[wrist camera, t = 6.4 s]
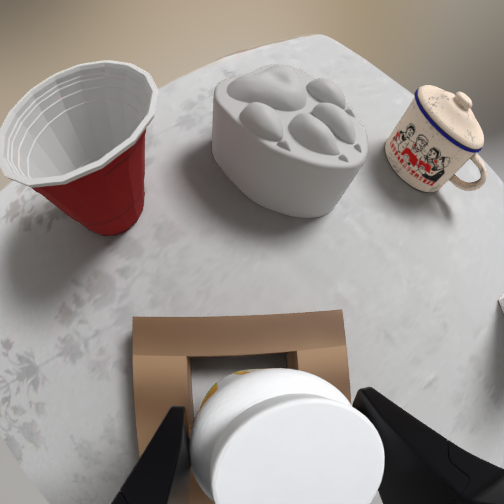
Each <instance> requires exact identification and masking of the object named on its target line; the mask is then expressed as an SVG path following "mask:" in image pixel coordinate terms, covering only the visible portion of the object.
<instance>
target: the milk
mask: <svg viewBox="0 0 504 504" xmlns="http://www.w3.org/2000/svg"><path fill="white" fill-rule="evenodd" d="M498 301H499V303H500V306H501V308H502V310H503V313H504V293H503V294H502V296H501V297H500V298H499V300H498Z"/></svg>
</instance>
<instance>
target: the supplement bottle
mask: <svg viewBox="0 0 504 504" xmlns="http://www.w3.org/2000/svg"><path fill="white" fill-rule="evenodd" d="M189 455H190V464H191V468H192V472H193V474H194V476H195V478H196V480H197V482H198V484H199V486H200V487H201V489H202V490H203V491H204V493H205V494H206V495H207V496H208V497H209V498H210V499H211V500H212V501H213V502H214V503H215V504H370V502H371V501H372V499H373V498H374V496H375V494H376V492H377V490H378V488H379V486H380V483H381V480H382V476H383V472H384V458H385V456H384V448H383V444H382V441H381V438H380V436H379V434H378V431H377V430H376V428H375V427H374V425H373V424H372V423H371V422H370V421H369V419H368V418H367V417H366V416H365V415H363V414H362V413H361V412H359V411H358V410H357V409H355V408H353V407H352V405H351V404H350V402H349V401H348V399H347V398H346V397H345V396H344V395H343V394H342V393H341V392H340V391H339V390H338V389H337V388H336V387H334V386H333V385H332V384H330V383H329V382H327V381H325V380H324V379H322V378H320V377H318V376H316V375H313V374H310V373H307V372H303V371H299V370H294V369H285V368H268V369H248V370H242V371H238V372H235V373H232V374H230V375H228V376H226V377H224V378H222V379H221V380H220V381H218V382H217V383H216V384H215V385H214V386H213V387H212V388H211V389H210V390H209V391H208V393H207V394H206V396H205V398H204V400H203V402H202V404H201V407H200V410H199V412H198V414H197V416H196V418H195V420H194V422H193V426H192V430H191V435H190V441H189Z"/></svg>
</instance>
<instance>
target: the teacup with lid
mask: <svg viewBox="0 0 504 504" xmlns="http://www.w3.org/2000/svg"><path fill="white" fill-rule="evenodd" d="M471 107H472V101H471V100H470V98H468V96H466V95H465V94H464V93H462V92H457V93H456V95H454V94H452V93H450V92H446V91H444V90H442V89H440V88H438V87H435V86H430V85H425V86H422V87H420V88H419V89H417V90H416V92H415V98H414V99H413V101H412V102H411V104H410V106H409V107H408V109H407V110H406V112H405V113H404V115H403V116H402V118H401V120H400V121H399V123H398V124H397V126H396V127H395V129H394V130H393V132H392V133H391V135H390V136H389V138H388V139H387V141H386V145H385V151H386V155H387V158H388V161H389V163H390V164H391V166H392V168H393V169H394V170H395V172H396V173H397V174H398V175H399V176H400V177H401V178H402V179H403V180H404V181H405V182H406V183H408V184H409V185H411V186H412V187H414V188H416V189H418V190H421V191H424V192H434V191H437V190H438V189H440V188H441V187H442V186H443V185H444V184H445V183H446V182H447V181H448V180H450V181H451V182H452V183H453V184H454V185H455V186H456V187H458V188H459V189H462V190H465V191H473V190H476V189H479V188H480V187H481V186H482V185H483V184H484V183H485V181H486V178H487V169H486V166H485V164H484V162H483V161H482V160H481V159H480V157H479V156H478V155H477V154H476V153H477V152H479V151H480V150H481V149H482V146H483V143H484V136H483V132H482V130H481V127H480V125H479V124H478V122H477V120H476V119H475V117H474V114H473V112H472V111H471V109H470V108H471ZM469 159H471V160H472V161H473V162H474V163H475V164H476V166H477V167H478V168H479V170H480V173H481V178H480V179H479V180H477V181H475V182H471V183H468V182H464V181H462V180H460V179H459V178H458V177H457V176H456V175H455V173H456V172H457V171H458V170H459V169H460V168H461V167H462V166H463V165H464V164H465V163H466V162H467V161H468V160H469Z"/></svg>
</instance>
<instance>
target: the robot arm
mask: <svg viewBox="0 0 504 504" xmlns="http://www.w3.org/2000/svg"><path fill="white" fill-rule="evenodd" d="M352 407H353V408H355V409H357V410H358V411H359V412H361V413H362V414H363V415H365V416H366V417H367V418H368V419H369V421H370V422H371V423H372V424H373V425H374V427H375V428H376V430H377V431H378V434H379V436H380V438H381V441H382V444H383V448H384V456H385V458H384V472H383V476H382V480H381V483H380V486H379V488H378V491H379V494H380V497H381V499H382V502H383V504H504V469H502V468H500V467H497V466H495V465H493V464H491V463H489V462H487V461H485V460H482V459H480V458H478V457H476V456H474V455H472V454H470V453H469V452H467V451H465V450H463V449H462V448H460V447H458V446H457V445H455V444H454V443H452V442H451V441H449V440H448V441H447V439H446V438H444V437H443V436H441V435H440V434H438V433H437V432H435V431H434V430H432V429H431V428H429V427H428V426H426V425H425V424H424V423H422V422H421V421H419V420H418V419H416V418H415V417H413V416H412V415H410V414H409V413H408V412H406V411H405V410H403V409H402V408H400V407H399V406H397V405H396V404H395V403H393V402H392V401H390V400H389V399H387V398H386V397H385V396H383V395H382V394H380V393H379V392H378V391H376V390H375V389H373V388H372V387H366V388H361V389H359V390H358V392H357V394H356V397H355V399H354V402H353V405H352ZM190 472H191V464H190V455H189V422H188V417H187V412H186V408H185V407H184V406H172V407H171V408H170V409H169V411H168V412H167V414H166V416H165V417H164V419H163V421H162V422H161V424H160V425H159V427H158V429H157V430H156V432H155V434H154V435H153V437H152V439H151V440H150V442H149V444H148V445H147V447H146V448H145V450H144V452H143V453H142V455H141V457H140V458H139V460H138V461H137V463H136V465H135V466H134V468H133V470H132V471H131V473H130V474H129V476H128V478H127V479H126V481H125V483H124V484H123V486H122V487H121V489H120V491H121V492H120V491H119V492H118V494H117V495H116V497H115V498H114V500H113V502H112V503H111V504H188V499H189V485H190Z"/></svg>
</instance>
